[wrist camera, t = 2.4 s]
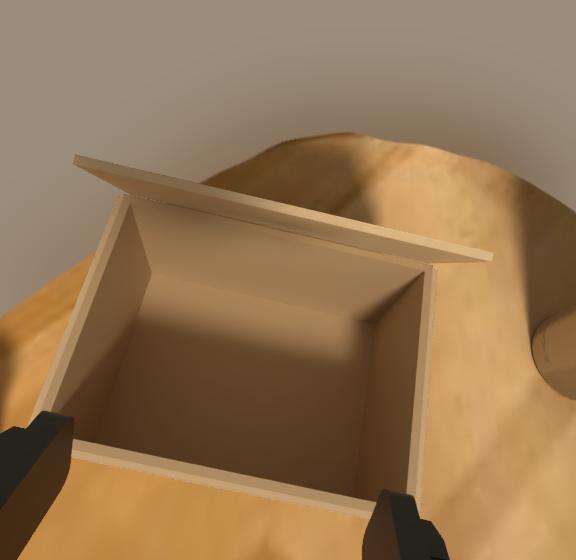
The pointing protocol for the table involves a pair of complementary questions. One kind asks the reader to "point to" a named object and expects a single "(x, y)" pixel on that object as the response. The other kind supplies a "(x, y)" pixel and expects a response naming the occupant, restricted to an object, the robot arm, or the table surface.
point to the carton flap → (280, 215)
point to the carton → (248, 360)
